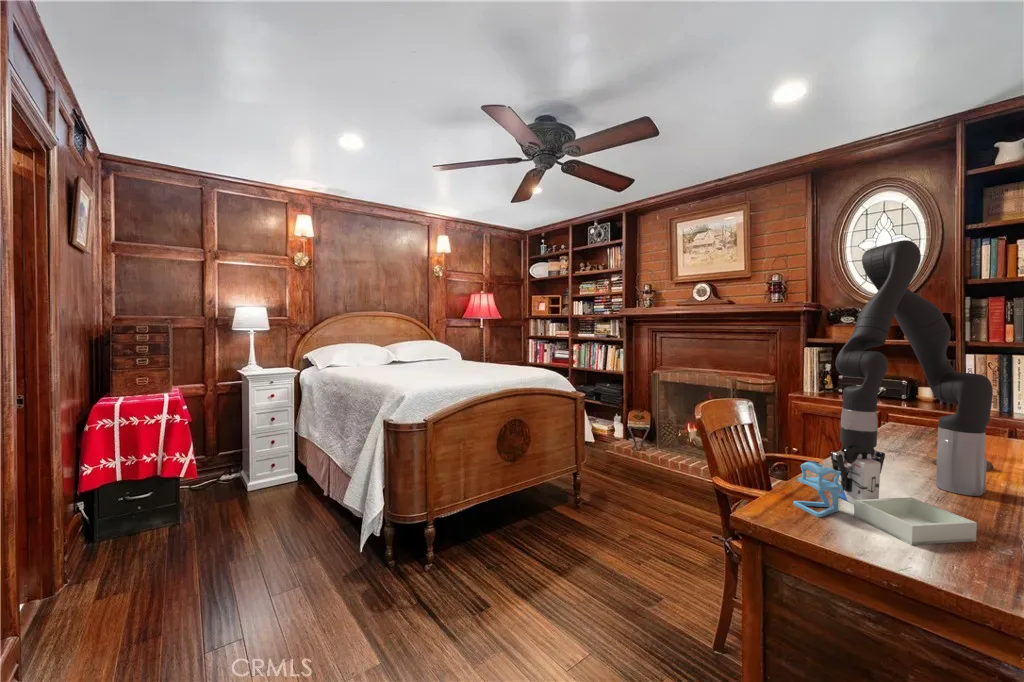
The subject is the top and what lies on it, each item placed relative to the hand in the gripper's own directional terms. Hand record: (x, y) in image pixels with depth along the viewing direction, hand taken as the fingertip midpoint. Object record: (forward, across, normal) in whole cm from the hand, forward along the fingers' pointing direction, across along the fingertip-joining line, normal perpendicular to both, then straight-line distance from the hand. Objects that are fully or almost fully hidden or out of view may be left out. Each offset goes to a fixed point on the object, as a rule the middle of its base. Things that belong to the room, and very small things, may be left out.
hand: (856, 490), depth 114 cm
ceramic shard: (+3, -60, -26) cm, 66 cm away
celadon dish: (+3, +1, +15) cm, 15 cm away
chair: (+3, +14, +4) cm, 15 cm away
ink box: (+3, 0, 0) cm, 3 cm away
